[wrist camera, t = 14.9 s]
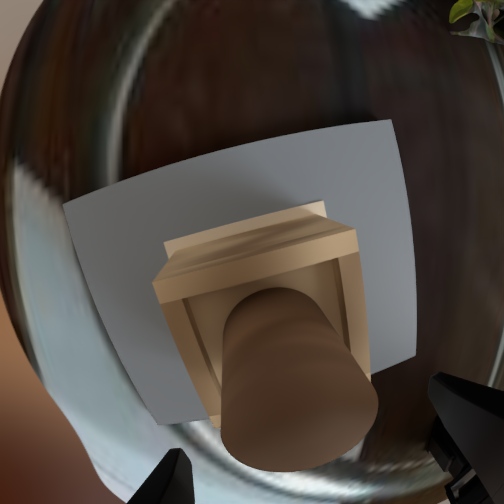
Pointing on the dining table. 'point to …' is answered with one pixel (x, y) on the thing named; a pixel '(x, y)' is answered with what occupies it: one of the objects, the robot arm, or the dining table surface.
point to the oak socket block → (258, 278)
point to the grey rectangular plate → (238, 221)
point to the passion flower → (480, 19)
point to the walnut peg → (290, 385)
